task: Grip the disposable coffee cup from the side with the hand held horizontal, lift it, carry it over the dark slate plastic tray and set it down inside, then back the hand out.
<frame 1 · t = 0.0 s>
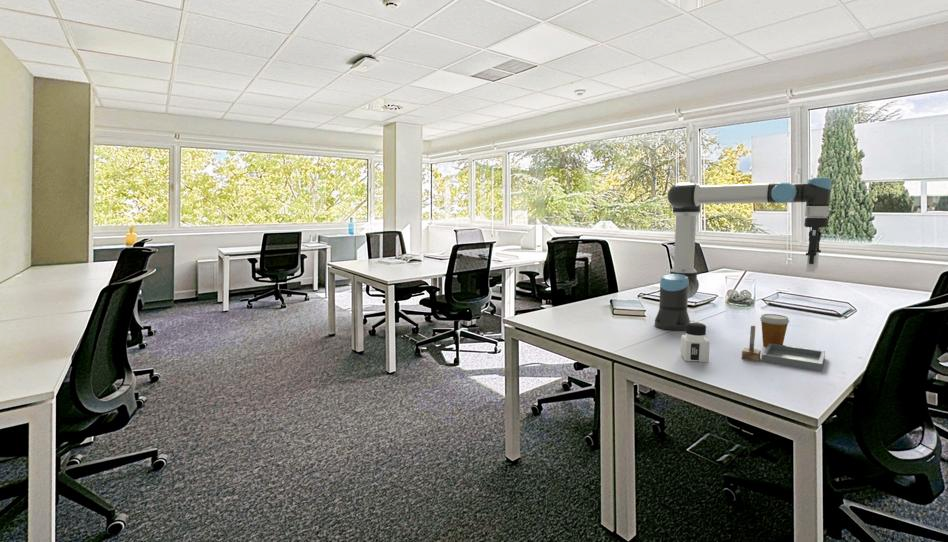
hand: (812, 270, 191), 28 cm above the table, tool pointing down, fingers open, 13 cm apart
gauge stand: (750, 358, 169), on the table
tray: (793, 359, 167), on the table
disposable coffee cup: (772, 347, 183), on the table
container: (694, 359, 170), on the table
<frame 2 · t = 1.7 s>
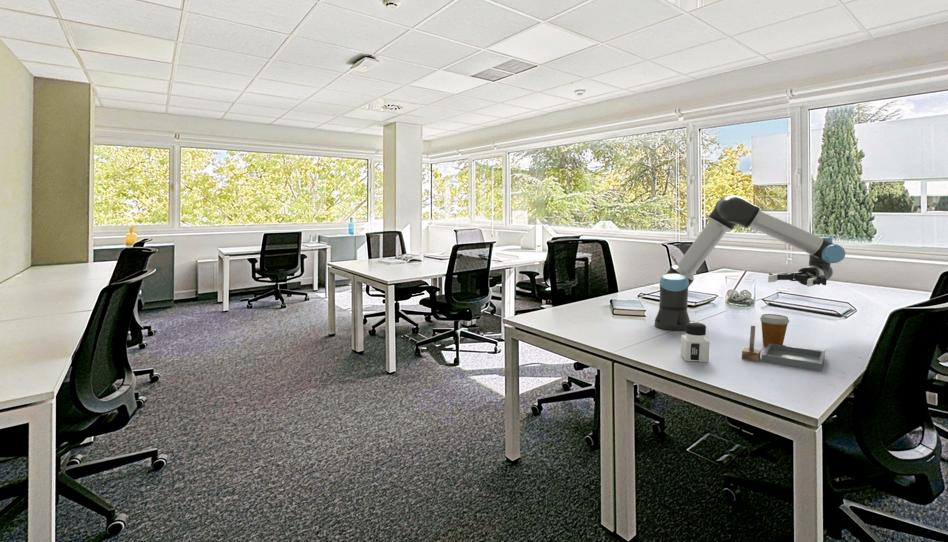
hand: (788, 280, 185), 25 cm above the table, tool horizontal, fingers open, 13 cm apart
nothing on the table moved.
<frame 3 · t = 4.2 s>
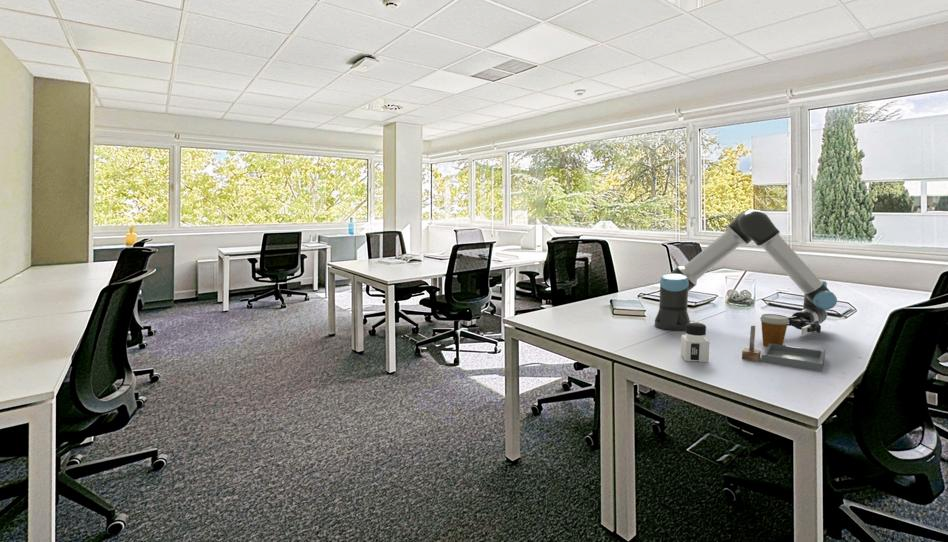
hand: (782, 327, 186), 6 cm above the table, tool horizontal, fingers open, 13 cm apart
nothing on the table moved.
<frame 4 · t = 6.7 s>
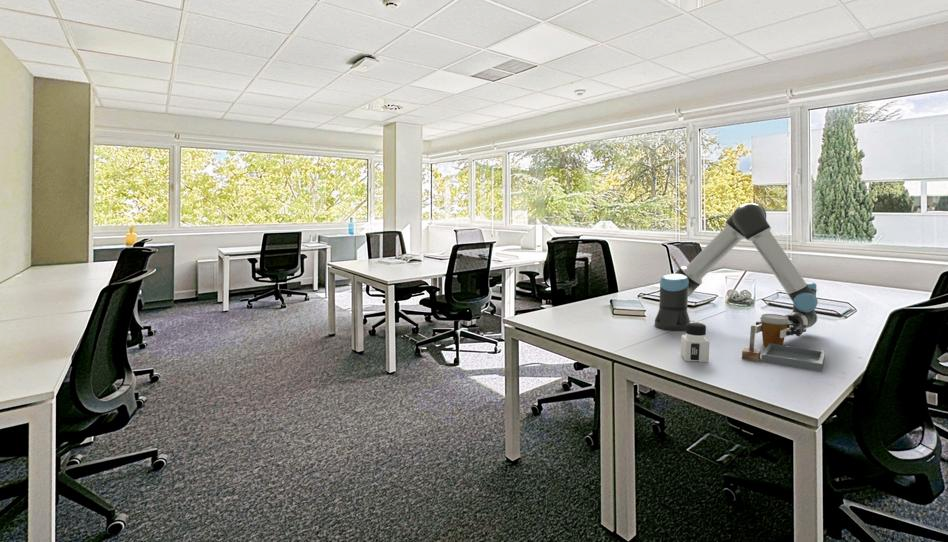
hand: (768, 331, 179), 7 cm above the table, tool horizontal, fingers closed on disposable coffee cup, 8 cm apart
disposable coffee cup: (772, 347, 183), on the table, touching gripper
everything else where it was.
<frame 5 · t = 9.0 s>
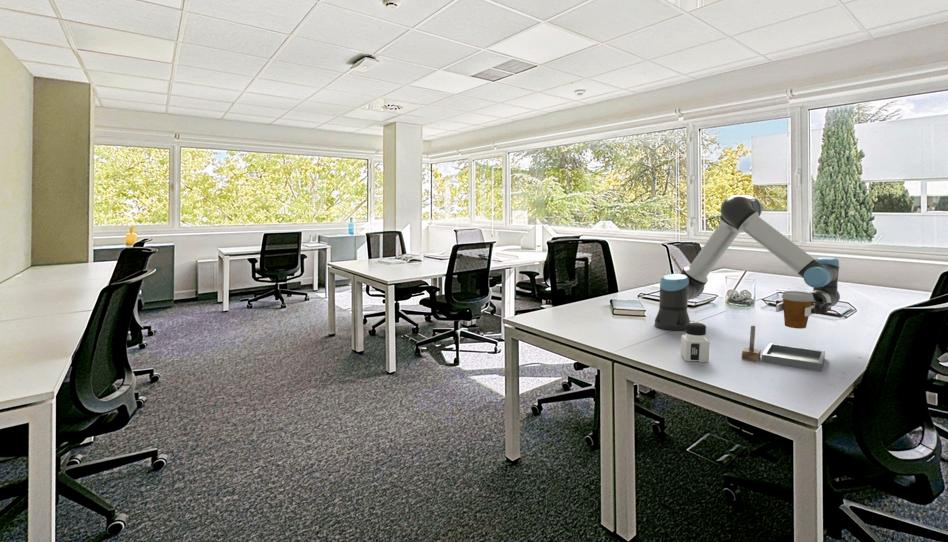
hand: (791, 310, 164), 18 cm above the table, tool horizontal, fingers closed on disposable coffee cup, 8 cm apart
disposable coffee cup: (795, 327, 168), point 11 cm above the table, touching gripper
everything else where it was.
when the fingers open (8 cm above the table, at t = 11.5 s): disposable coffee cup moves 2 cm, resting in tray.
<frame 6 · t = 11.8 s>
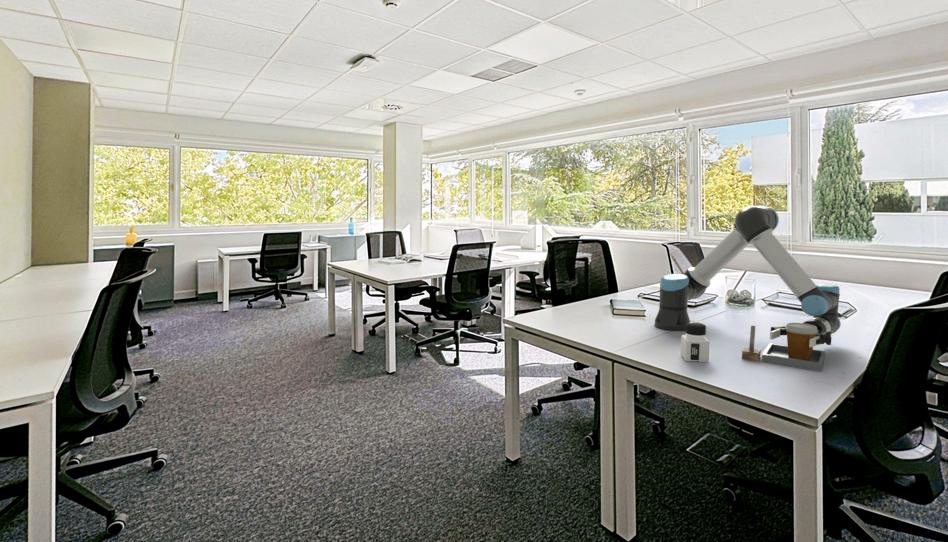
hand: (790, 339, 164), 8 cm above the table, tool horizontal, fingers open, 11 cm apart
disposable coffee cup: (799, 359, 166), resting on tray, touching gripper
everything else where it was.
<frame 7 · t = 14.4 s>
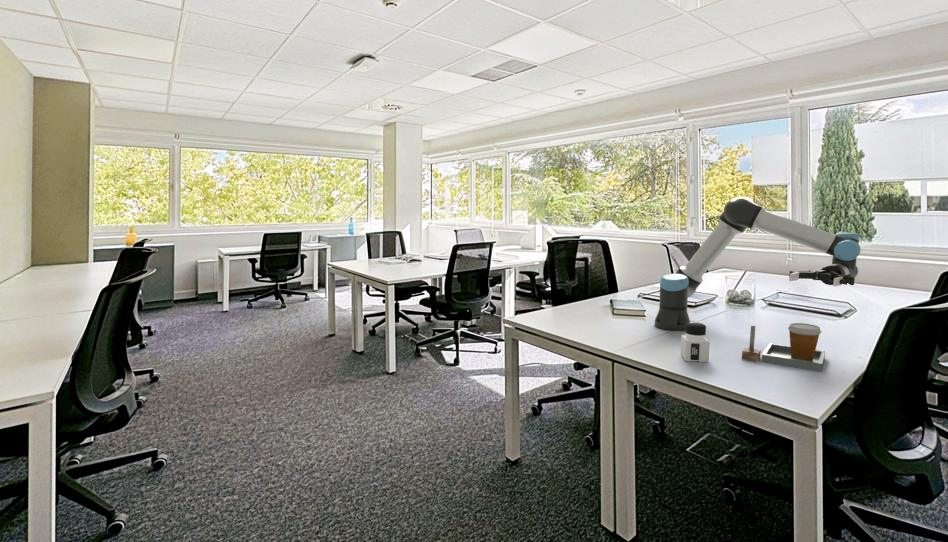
hand: (811, 279, 169), 28 cm above the table, tool horizontal, fingers open, 13 cm apart
disposable coffee cup: (801, 359, 166), resting on tray
everything else where it was.
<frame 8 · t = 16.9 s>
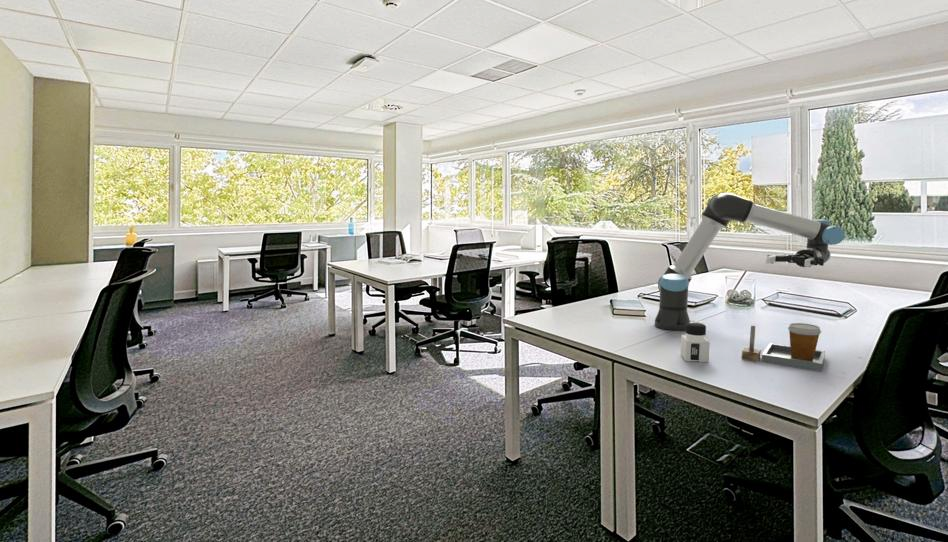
hand: (785, 261, 187), 32 cm above the table, tool horizontal, fingers open, 13 cm apart
nothing on the table moved.
at the end: disposable coffee cup inside the target area on the tray (2.5 cm from its centre), point 0.4 cm above the tray's base; disposable coffee cup tilted 0°; the gripper is holding nothing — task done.
